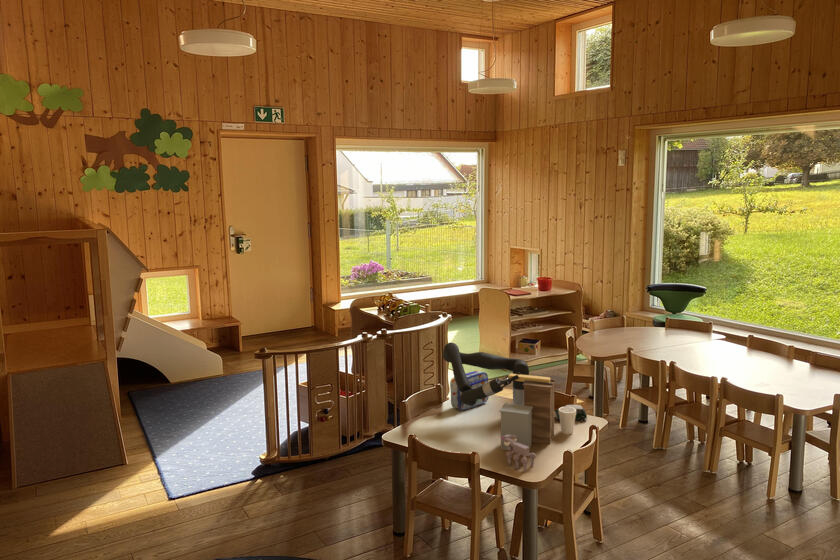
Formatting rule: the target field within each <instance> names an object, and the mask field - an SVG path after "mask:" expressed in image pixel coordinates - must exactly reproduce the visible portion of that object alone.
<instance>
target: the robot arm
mask: <svg viewBox="0 0 840 560" xmlns="http://www.w3.org/2000/svg"><path fill="white" fill-rule="evenodd" d="M442 359H443V360H444V361H446V362H447V363H450V365H451V367H452V371H453V378H455V382H456V384H457V387H458V389H459V391H461V392H462V394H461V395H460V401H461V402H462V403H463V404H466V405H469V406H473V405H475V404H476V401H477V399H484V398H486V397H488V396H489V397H491V396H494V395H496V394H499V393H500V392H503V390H504V388H505V387H507V386H509V385H510V384H512V404H516V405H524V386H523V384H524V382H522V381H515V380H517V379H519V377H518V375H515V376H513V377H511V378H508V376H509V375H506V376H505V377H502V378H501V379H499V378H498V377H496V378H494V379H492V380H490V381H489V380H488V382H487V383H485V384H484V385H482V386H480V387H478V388H474V389H472V388H471V386H470V385H469V382H468V379H467V376H466V372H465V371H466V370H465V369H464V366H463V365H466V366H471V367H477V368H479V369H480V368H481V369H484V370H485V369H486V370H494V371H495V370H506V371H509V372H511V373H512V374H521V375H530V368H529V365H528V362H526V361H525V360H524V359H520V358H511V357H505V356H501V355H496V354H494V353H488V352H484V351H482V352H481V351H478V352H470V353H467V352H466V353H465V352H461V351H460V348H459V346H458V345H457V343H455V342H447V343H445V345H444V347H443V351H442Z"/></svg>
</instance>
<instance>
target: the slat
mask: <svg viewBox="0 0 840 560" xmlns="http://www.w3.org/2000/svg"><path fill="white" fill-rule="evenodd" d="M515 375H518V377H519V379H517V380H515V381H522V382H524V380H527V381H537V382H547V383H550V379H551V377H549V376H540V375H531V374H529V375H521V374H513V373H512V372H511V373H509V374H508V375H507V376H508V378H511V377H513V376H515Z"/></svg>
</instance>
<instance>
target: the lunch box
mask: <svg viewBox="0 0 840 560" xmlns="http://www.w3.org/2000/svg"><path fill="white" fill-rule="evenodd" d="M465 374H466V376H467V379H468V382H469V385H470V386H471V388H472V389H474V388H478V387H480V386H482V385H484V384H485V383H487V382H489V375H488V374H487V372H483V371H479V370H473V371H469V372H465ZM449 386H450V387H449V388H450V405H451V406H452V407H451V408H455V409H459V410H460V411H462V412H463V411H464V412H465V411H468V410H470V409H472V408H475V407H478V406H480V405H483V404H486V402H488V400H489V397H490V396H488V397H486V398H484V399H477V401H476V404H475V405H473V406H469V405H466V404H463V403H462V402H461V401H460V395H461V394H462V392H461V391H459V389H458V387H457V384H456V382H455V378H454V377H452V378H451V379H450V382H449Z"/></svg>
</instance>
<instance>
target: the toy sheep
mask: <svg viewBox="0 0 840 560" xmlns="http://www.w3.org/2000/svg"><path fill="white" fill-rule="evenodd" d="M499 437H500V439H501V438H502V440H503V441H504V444H505V445H506V448H507V450H506V451H507V452H506V453H505V456H506V457H507V463H508V464H507V466H511V465H512V461H511V458H513V461H515V467H516V469H517V470H519V469H520V465H519V463H521V464H522V468H523V472H524V473H526V472H527V463H528V458H527V457H529V458H530V459H531V460H530V467H531V468H534V465H535V459H536V457H537V456H536V453H535V452H530V449H529V447H528V446H525V445H523V444H520V443H518V442H516V441H517V437H516V435H510V434H507V435H505V436H501V435H500V436H499ZM515 442H516V443H515ZM511 450H513V451H511ZM513 454H514V455H513ZM521 456H522V458H520V457H521ZM519 461H520V462H519Z"/></svg>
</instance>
